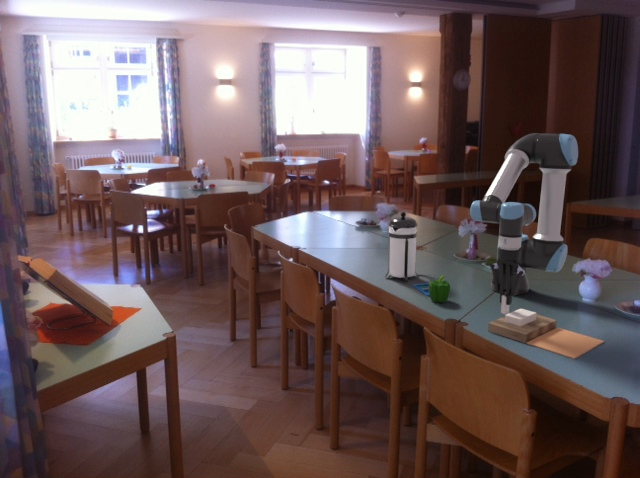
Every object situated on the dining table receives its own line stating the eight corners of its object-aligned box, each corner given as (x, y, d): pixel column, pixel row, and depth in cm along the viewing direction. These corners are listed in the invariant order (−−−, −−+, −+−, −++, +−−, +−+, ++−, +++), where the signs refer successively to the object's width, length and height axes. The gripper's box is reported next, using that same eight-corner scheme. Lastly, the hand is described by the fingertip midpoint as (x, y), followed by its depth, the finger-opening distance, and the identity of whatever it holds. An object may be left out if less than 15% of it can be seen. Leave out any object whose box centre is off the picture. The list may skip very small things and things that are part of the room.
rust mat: (557, 328, 207) (557, 327, 206) (603, 342, 195) (603, 341, 195) (526, 343, 194) (526, 342, 194) (574, 359, 182) (574, 357, 182)
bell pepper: (438, 305, 230) (439, 281, 228) (424, 300, 237) (425, 275, 235) (454, 302, 234) (455, 277, 232) (440, 296, 241) (441, 272, 239)
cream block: (520, 315, 211) (520, 308, 211) (535, 319, 207) (536, 312, 206) (504, 321, 205) (505, 314, 204) (520, 326, 200) (520, 319, 200)
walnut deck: (519, 317, 217) (520, 309, 217) (556, 328, 207) (556, 320, 206) (488, 331, 205) (488, 322, 204) (525, 343, 194) (525, 334, 194)
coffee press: (424, 282, 260) (426, 214, 254) (388, 283, 259) (389, 215, 252) (415, 271, 277) (417, 207, 271) (381, 272, 276) (382, 208, 269)
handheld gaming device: (427, 294, 241) (412, 283, 255) (427, 297, 242) (411, 286, 256) (446, 292, 244) (429, 282, 258) (445, 295, 244) (429, 284, 258)
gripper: (486, 245, 207) (482, 310, 212) (520, 252, 197) (515, 320, 203) (499, 242, 212) (494, 305, 217) (532, 249, 202) (527, 315, 207)
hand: (504, 312), depth 210 cm, fingers closed
